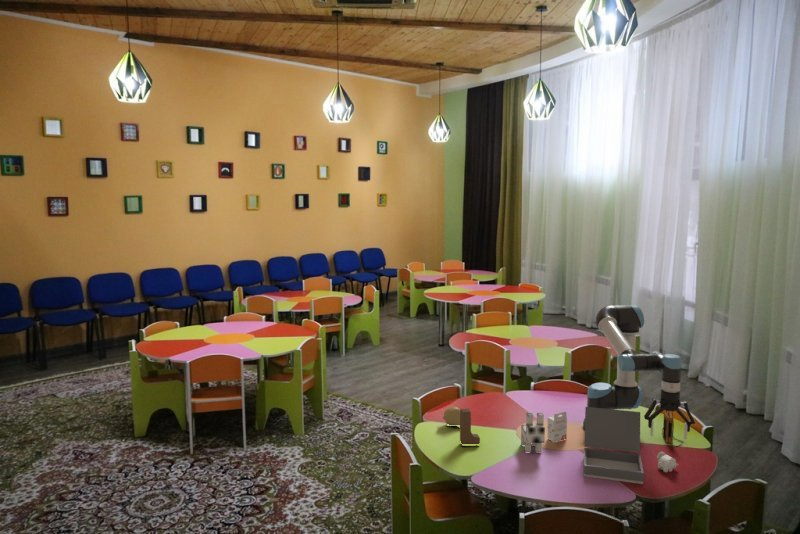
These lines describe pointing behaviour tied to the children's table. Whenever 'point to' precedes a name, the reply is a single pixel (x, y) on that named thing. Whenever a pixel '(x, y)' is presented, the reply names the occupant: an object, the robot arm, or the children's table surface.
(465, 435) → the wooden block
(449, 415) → the toy pig
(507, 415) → the children's table surface
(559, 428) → the ink cartridge box
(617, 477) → the case
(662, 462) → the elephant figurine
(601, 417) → the case lid
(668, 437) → the multimeter
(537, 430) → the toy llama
